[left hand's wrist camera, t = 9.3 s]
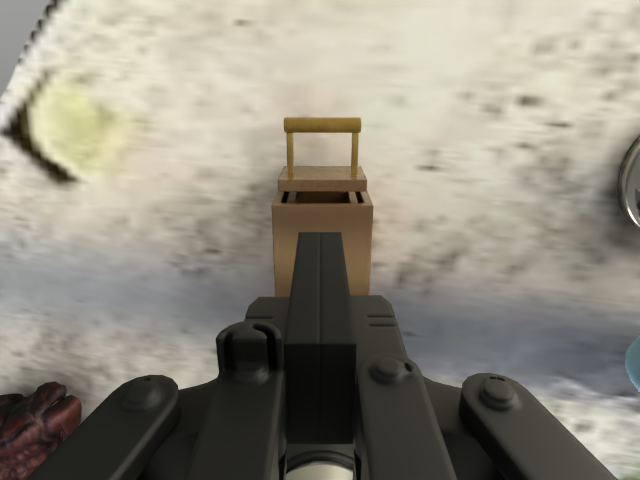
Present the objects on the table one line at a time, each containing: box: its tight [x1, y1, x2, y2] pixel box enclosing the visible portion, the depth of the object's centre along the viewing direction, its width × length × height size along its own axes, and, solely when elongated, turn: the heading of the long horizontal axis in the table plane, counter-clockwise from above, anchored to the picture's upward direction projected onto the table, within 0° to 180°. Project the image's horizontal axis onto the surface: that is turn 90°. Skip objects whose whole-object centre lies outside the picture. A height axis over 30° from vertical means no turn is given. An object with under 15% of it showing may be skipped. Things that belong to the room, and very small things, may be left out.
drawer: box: [278, 118, 367, 203], centre depth 46 cm, size 25×9×6 cm, turn 0°
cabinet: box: [272, 191, 373, 297], centre depth 48 cm, size 20×10×8 cm, turn 0°
